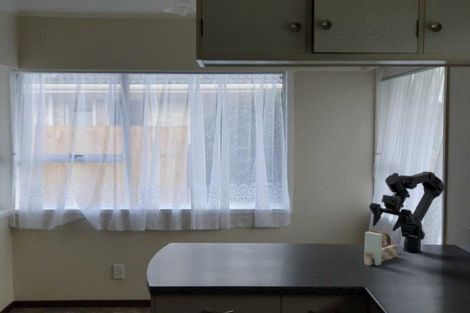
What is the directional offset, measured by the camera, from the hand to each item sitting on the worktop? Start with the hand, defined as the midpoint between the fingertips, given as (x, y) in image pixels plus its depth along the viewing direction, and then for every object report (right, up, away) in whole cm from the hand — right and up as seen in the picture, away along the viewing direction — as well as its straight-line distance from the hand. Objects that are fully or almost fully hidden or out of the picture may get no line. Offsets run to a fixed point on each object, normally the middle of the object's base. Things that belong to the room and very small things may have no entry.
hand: (383, 228), depth 212 cm
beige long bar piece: (-1, -14, 0) cm, 14 cm away
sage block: (-6, -14, -5) cm, 16 cm away
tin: (+4, -13, +20) cm, 24 cm away
